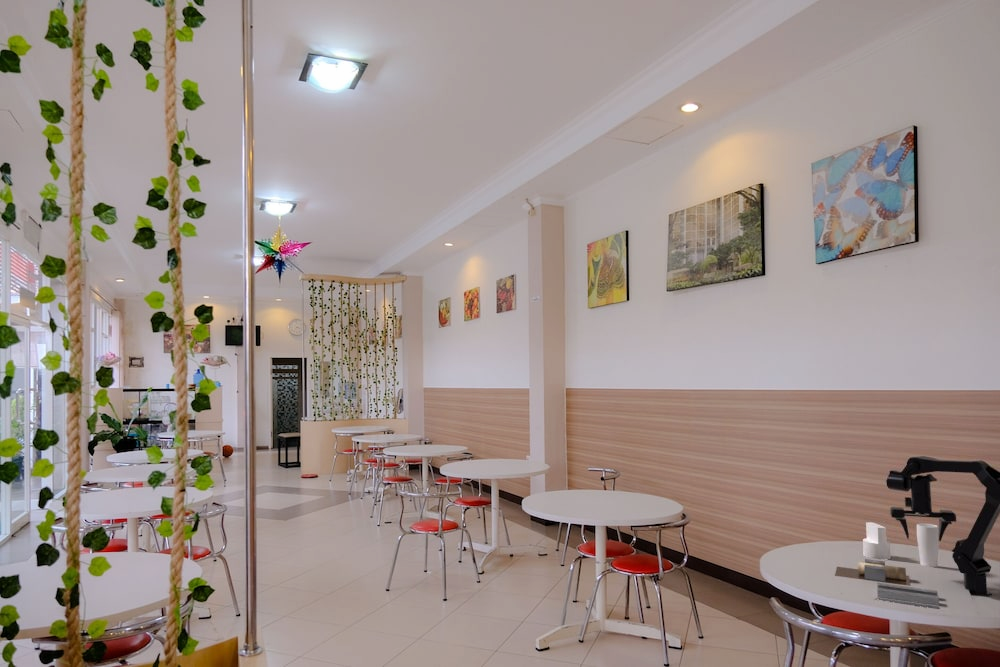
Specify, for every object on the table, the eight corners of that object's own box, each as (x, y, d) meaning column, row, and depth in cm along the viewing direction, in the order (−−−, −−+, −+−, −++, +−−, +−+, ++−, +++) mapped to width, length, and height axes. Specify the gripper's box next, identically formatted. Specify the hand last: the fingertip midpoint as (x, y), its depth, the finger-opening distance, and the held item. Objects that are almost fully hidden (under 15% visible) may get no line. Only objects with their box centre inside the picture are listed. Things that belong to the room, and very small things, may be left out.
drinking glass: (944, 570, 236) (942, 527, 237) (925, 570, 236) (923, 527, 237) (932, 564, 243) (930, 523, 244) (913, 564, 243) (912, 523, 244)
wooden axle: (905, 578, 224) (905, 566, 224) (906, 582, 220) (905, 569, 221) (858, 572, 231) (858, 560, 231) (858, 575, 227) (858, 563, 228)
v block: (937, 600, 206) (936, 590, 206) (939, 609, 198) (939, 599, 198) (877, 591, 214) (877, 582, 214) (877, 600, 206) (877, 590, 206)
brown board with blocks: (909, 578, 227) (908, 563, 227) (910, 588, 216) (909, 573, 217) (837, 569, 238) (836, 555, 238) (834, 578, 227) (834, 563, 228)
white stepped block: (895, 560, 249) (894, 527, 250) (871, 560, 249) (870, 527, 250) (882, 553, 258) (881, 522, 259) (858, 553, 258) (857, 522, 259)
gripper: (949, 491, 231) (952, 537, 230) (887, 488, 239) (890, 532, 238) (955, 496, 221) (958, 544, 220) (890, 493, 229) (893, 539, 228)
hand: (923, 539), depth 227 cm, fingers open, 9 cm apart
